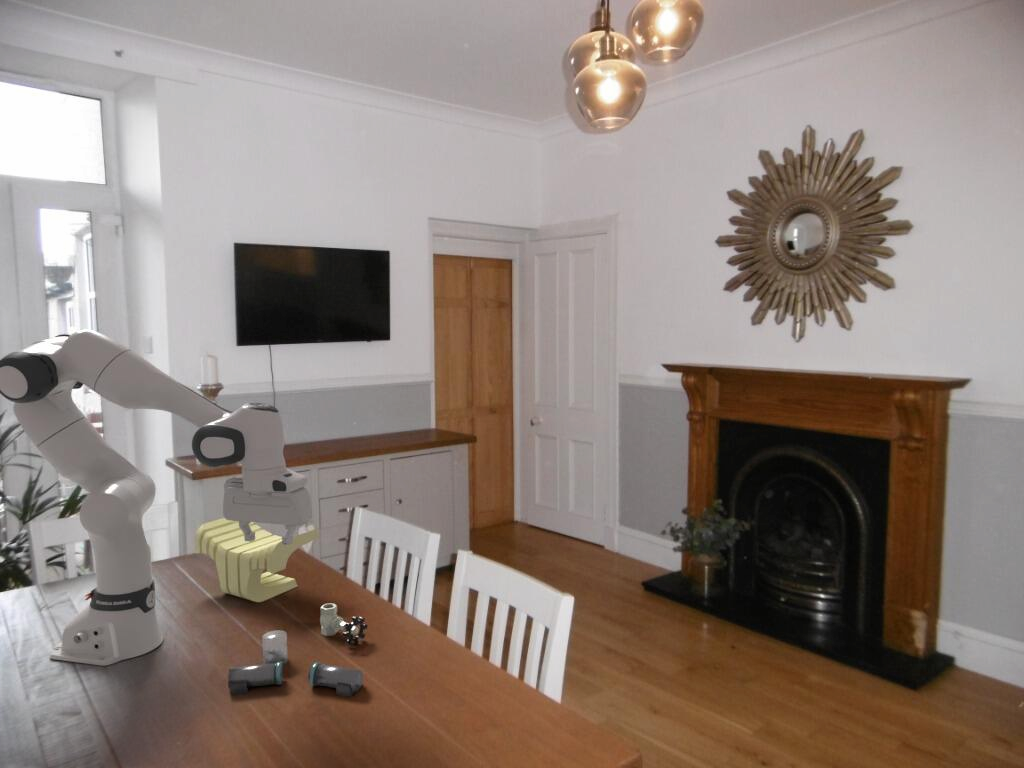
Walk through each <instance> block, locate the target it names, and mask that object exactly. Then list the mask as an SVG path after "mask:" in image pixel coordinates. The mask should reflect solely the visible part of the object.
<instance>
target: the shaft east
mask: <svg viewBox="0 0 1024 768" xmlns="http://www.w3.org/2000/svg"><path fill="white" fill-rule="evenodd" d="M308 671H309V672H308V679H307V680H308V684H309V685H311V686H314V687H317V686H322V687H328V688H332V689H333V688H335V691H336V692H335V693H336V696H342V697H346V698H351V697H352V696H353V695H354V694H355V693H357V692H358V691H359V690H361V687H362V686H363V681H364V673H363V670H361V669H355V668H350V667H345V666H344V667H343V666H337V665H332V664H331V665H330V664H325V663H323V662H320V661H316V662H314V663H312V665H311V667H310V669H309V670H308Z"/></svg>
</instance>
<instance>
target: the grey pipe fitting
mask: <svg viewBox="0 0 1024 768" xmlns="http://www.w3.org/2000/svg"><path fill="white" fill-rule="evenodd" d="M283 666H284V665H282V661H281V662H276V663H272V664H263V663H261V664H255V665H245V666H234V667H229V669H228V674H227V675H228V677H227V685H228V686H227V687H228V690H230V695H231V696H234V695H242V694H244V695H245V694H248V690H249V688H251V687H261V686H269V685H270V686H271V685H276V686H278V685H283V679H284V677H283V673H284V672H283V671H284V667H283Z"/></svg>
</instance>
